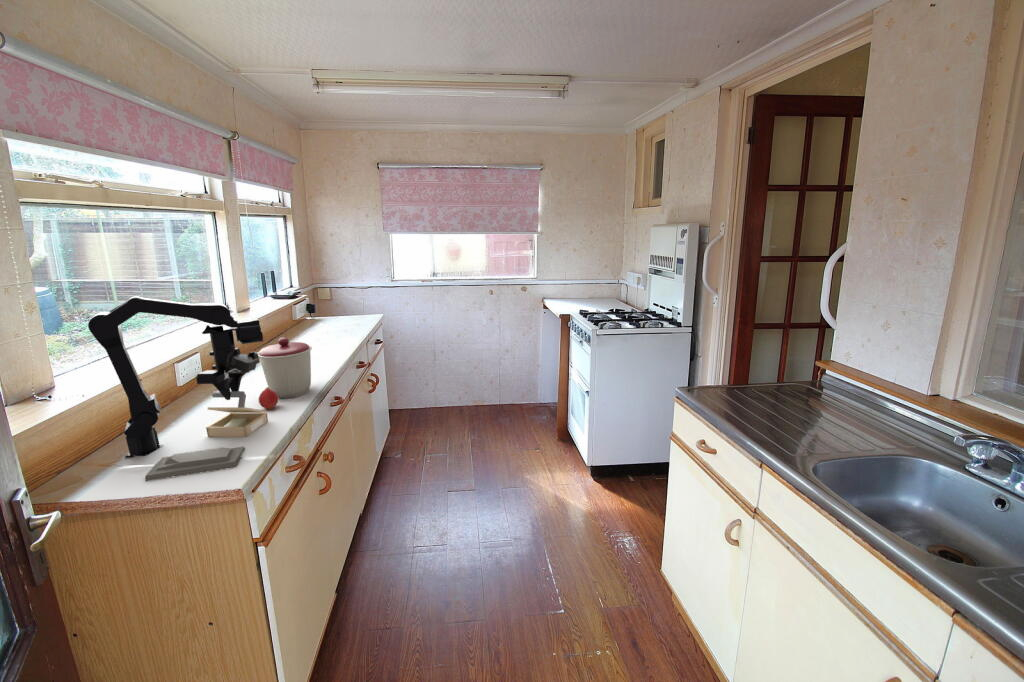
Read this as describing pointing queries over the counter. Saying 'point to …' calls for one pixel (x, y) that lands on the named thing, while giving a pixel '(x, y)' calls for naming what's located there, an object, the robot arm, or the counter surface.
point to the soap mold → (195, 462)
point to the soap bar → (237, 423)
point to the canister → (287, 367)
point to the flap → (241, 404)
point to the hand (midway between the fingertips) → (232, 397)
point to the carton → (252, 424)
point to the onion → (268, 398)
